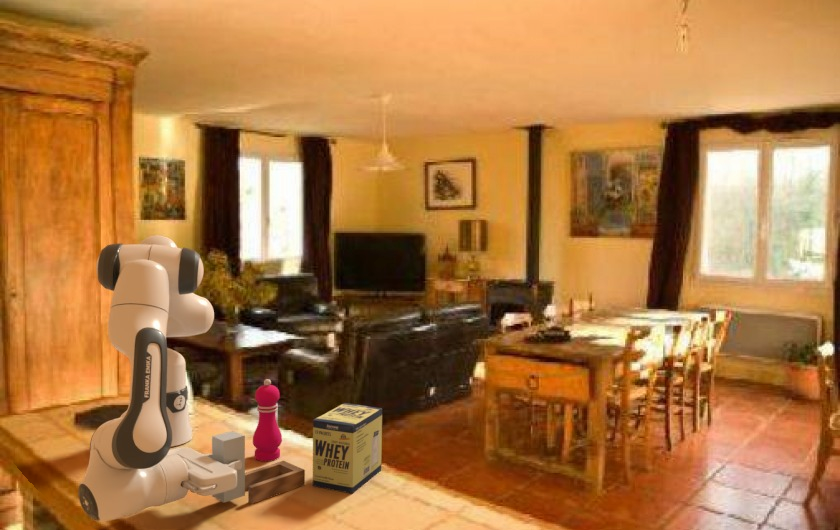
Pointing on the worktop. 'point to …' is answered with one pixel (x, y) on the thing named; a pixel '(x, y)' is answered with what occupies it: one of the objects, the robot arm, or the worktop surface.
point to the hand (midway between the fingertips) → (232, 460)
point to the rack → (273, 480)
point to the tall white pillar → (226, 451)
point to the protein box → (347, 447)
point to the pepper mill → (267, 423)
